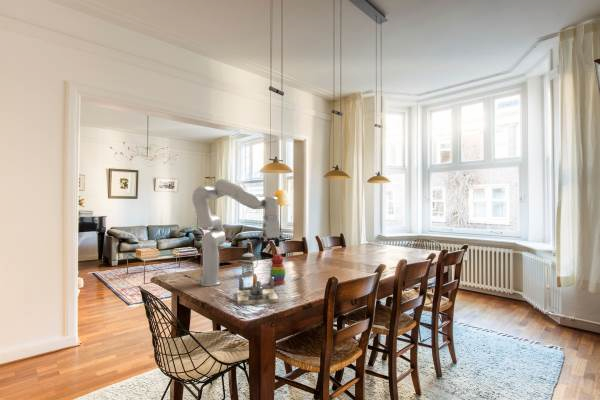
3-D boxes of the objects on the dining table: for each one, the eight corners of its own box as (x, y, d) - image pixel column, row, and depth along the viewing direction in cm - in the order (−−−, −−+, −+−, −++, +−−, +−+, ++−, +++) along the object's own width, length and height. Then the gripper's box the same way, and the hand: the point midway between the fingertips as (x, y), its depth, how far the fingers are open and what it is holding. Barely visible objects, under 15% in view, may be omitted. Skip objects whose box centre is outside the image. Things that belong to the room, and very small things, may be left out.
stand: (237, 305, 155) (237, 297, 155) (235, 293, 175) (235, 286, 175) (278, 302, 160) (279, 295, 160) (272, 291, 180) (272, 284, 180)
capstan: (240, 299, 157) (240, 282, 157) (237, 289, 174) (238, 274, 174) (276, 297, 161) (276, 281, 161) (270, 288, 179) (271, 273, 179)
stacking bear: (269, 280, 204) (270, 252, 204) (285, 281, 204) (286, 253, 204) (267, 285, 194) (268, 255, 194) (284, 285, 193) (284, 256, 193)
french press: (240, 273, 223) (241, 238, 223) (257, 273, 224) (258, 238, 224) (239, 277, 213) (240, 239, 213) (257, 277, 214) (258, 239, 214)
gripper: (263, 218, 177) (263, 249, 177) (286, 217, 189) (286, 246, 189) (255, 218, 182) (254, 248, 182) (277, 217, 194) (277, 245, 194)
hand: (270, 247), depth 186 cm, fingers open, 9 cm apart
